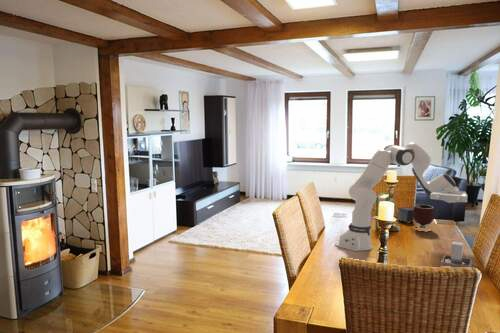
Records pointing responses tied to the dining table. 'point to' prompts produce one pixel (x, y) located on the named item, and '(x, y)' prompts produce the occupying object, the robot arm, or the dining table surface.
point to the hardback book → (381, 198)
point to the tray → (467, 262)
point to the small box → (405, 214)
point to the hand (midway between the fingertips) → (447, 199)
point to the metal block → (457, 253)
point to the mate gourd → (423, 214)
